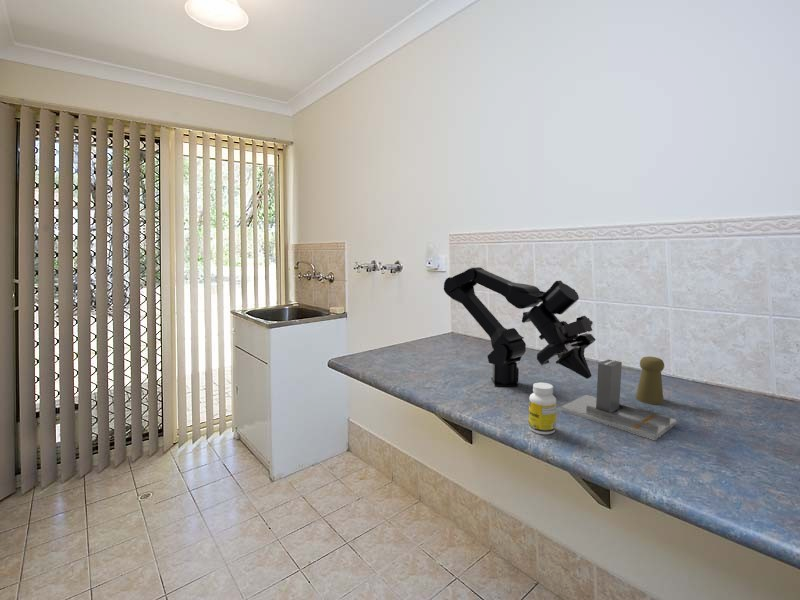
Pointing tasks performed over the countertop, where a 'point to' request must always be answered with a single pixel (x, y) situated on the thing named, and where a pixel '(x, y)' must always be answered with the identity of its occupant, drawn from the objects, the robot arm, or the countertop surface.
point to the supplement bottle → (542, 409)
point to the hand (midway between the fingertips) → (589, 377)
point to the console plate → (622, 417)
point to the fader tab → (608, 385)
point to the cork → (650, 381)
